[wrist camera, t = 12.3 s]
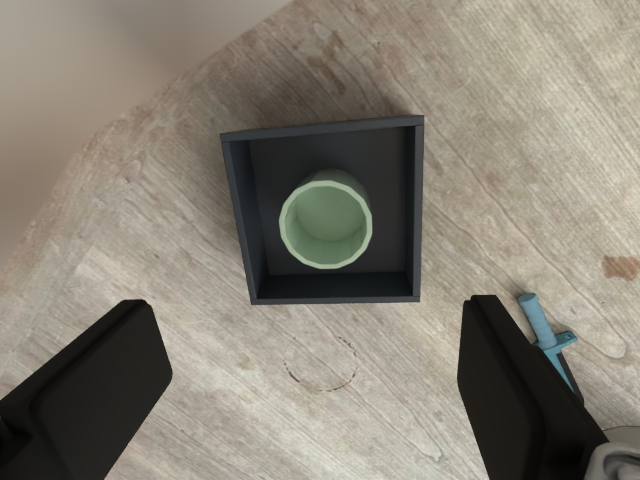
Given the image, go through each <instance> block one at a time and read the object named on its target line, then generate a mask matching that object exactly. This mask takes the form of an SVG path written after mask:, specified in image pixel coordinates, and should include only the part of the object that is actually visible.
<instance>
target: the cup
mask: <svg viewBox="0 0 640 480" xmlns="http://www.w3.org/2000/svg"><path fill="white" fill-rule="evenodd" d="M603 433H604V434H605V435H606V437H607V438H608V439H609V441H610V442H621V443H626V444H631V445H636V446H638V447H640V427H627V426H622V427H618V428H614V429H610V430H606V431H603Z"/></svg>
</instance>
